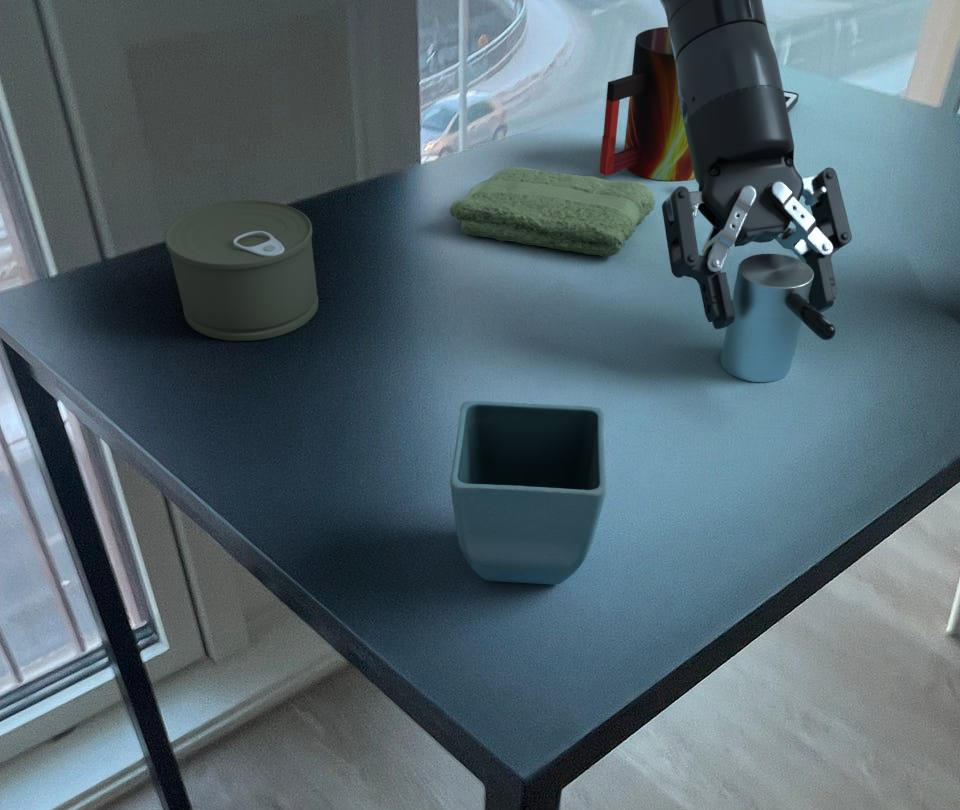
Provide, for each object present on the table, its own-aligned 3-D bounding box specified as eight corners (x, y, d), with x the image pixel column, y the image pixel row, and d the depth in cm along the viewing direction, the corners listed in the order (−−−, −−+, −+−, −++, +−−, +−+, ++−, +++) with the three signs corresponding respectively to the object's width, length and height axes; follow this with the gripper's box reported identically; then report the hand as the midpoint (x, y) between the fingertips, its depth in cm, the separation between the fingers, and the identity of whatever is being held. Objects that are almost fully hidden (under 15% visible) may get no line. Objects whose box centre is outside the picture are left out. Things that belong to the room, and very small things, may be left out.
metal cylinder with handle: (708, 352, 83) (725, 258, 77) (768, 341, 84) (790, 249, 79) (774, 425, 76) (799, 328, 70) (840, 413, 77) (869, 316, 71)
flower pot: (591, 518, 68) (604, 404, 62) (593, 609, 62) (607, 493, 56) (462, 512, 69) (461, 398, 62) (451, 602, 62) (448, 486, 56)
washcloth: (496, 184, 107) (497, 152, 104) (657, 213, 102) (661, 180, 99) (444, 234, 98) (443, 201, 96) (616, 268, 93) (619, 234, 91)
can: (269, 262, 94) (257, 187, 89) (348, 309, 88) (341, 231, 83) (155, 305, 88) (136, 228, 83) (232, 358, 82) (216, 278, 77)
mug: (596, 185, 106) (607, 60, 98) (638, 141, 115) (652, 21, 106) (685, 202, 104) (704, 74, 95) (721, 155, 112) (741, 34, 104)
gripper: (667, 90, 72) (713, 316, 73) (842, 71, 75) (884, 288, 76) (629, 141, 79) (671, 346, 80) (790, 122, 82) (828, 319, 83)
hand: (774, 317), depth 78 cm, fingers open, 8 cm apart
